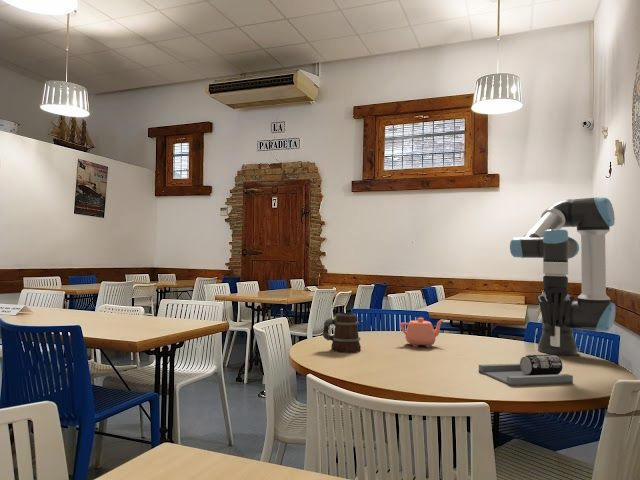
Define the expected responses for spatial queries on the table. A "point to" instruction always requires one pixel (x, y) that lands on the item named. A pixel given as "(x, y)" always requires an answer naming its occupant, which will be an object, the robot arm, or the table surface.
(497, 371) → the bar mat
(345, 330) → the mug
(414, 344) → the teapot
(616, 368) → the table surface
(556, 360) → the beverage can
